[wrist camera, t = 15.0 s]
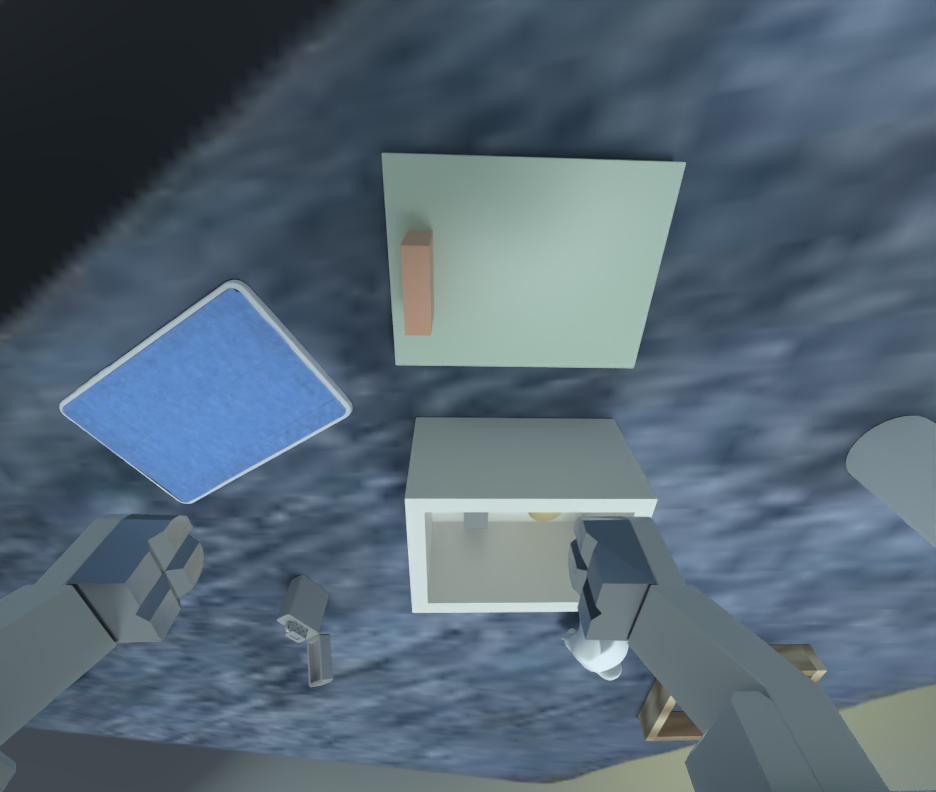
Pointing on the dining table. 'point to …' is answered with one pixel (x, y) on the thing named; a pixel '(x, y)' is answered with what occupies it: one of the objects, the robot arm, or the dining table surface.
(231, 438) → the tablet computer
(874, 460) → the cylindrical container
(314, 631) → the lighter
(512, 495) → the parts tub
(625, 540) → the robot arm
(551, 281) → the lid
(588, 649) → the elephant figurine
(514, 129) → the dining table surface
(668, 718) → the wooden frame
